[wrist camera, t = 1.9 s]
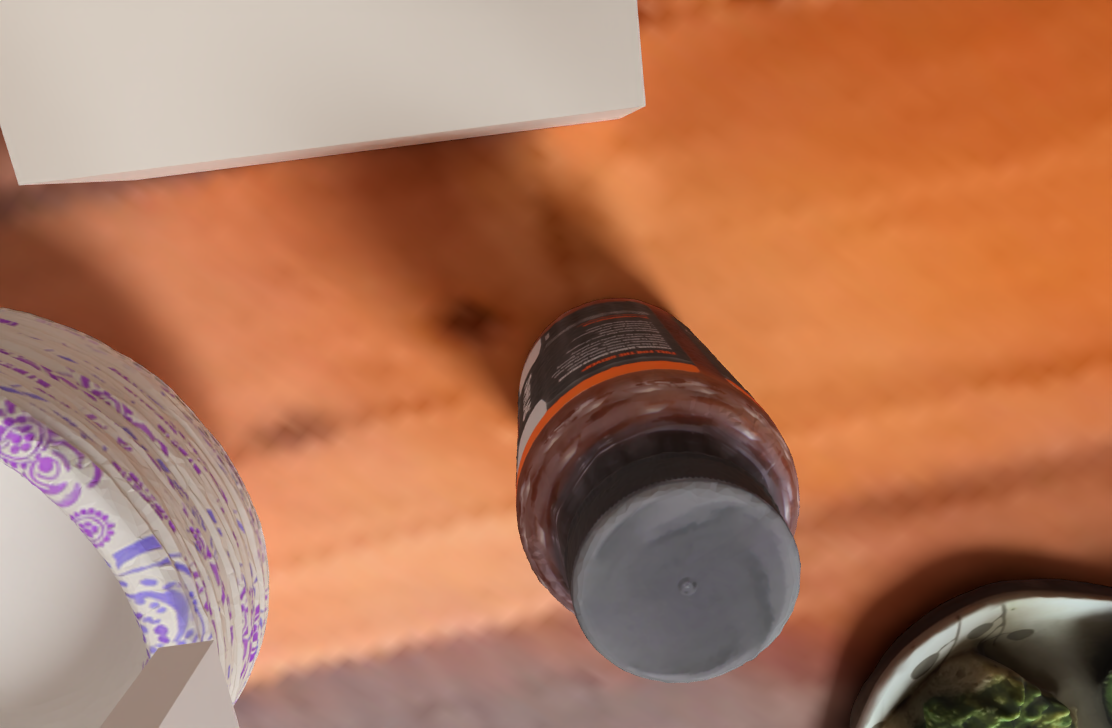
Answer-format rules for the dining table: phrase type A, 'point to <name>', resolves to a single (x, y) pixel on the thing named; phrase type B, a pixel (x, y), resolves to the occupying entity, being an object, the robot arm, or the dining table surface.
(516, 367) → the dining table surface
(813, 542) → the dining table surface
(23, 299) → the dining table surface
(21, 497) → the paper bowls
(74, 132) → the white flat block
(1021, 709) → the salad plate
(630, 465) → the supplement bottle
